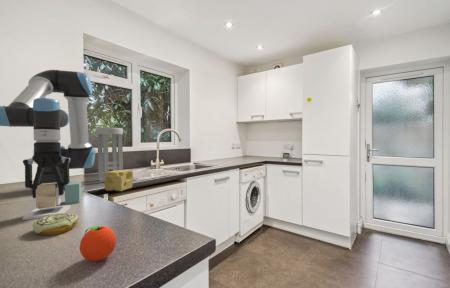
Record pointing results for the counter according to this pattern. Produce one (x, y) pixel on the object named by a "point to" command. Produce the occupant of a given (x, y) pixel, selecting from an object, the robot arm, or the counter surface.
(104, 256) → the tomato
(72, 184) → the teal block
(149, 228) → the counter surface
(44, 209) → the blueprint board
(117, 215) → the counter surface
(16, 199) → the counter surface
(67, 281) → the counter surface
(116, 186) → the cheese
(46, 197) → the birch block
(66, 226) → the decorated donut
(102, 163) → the stool
